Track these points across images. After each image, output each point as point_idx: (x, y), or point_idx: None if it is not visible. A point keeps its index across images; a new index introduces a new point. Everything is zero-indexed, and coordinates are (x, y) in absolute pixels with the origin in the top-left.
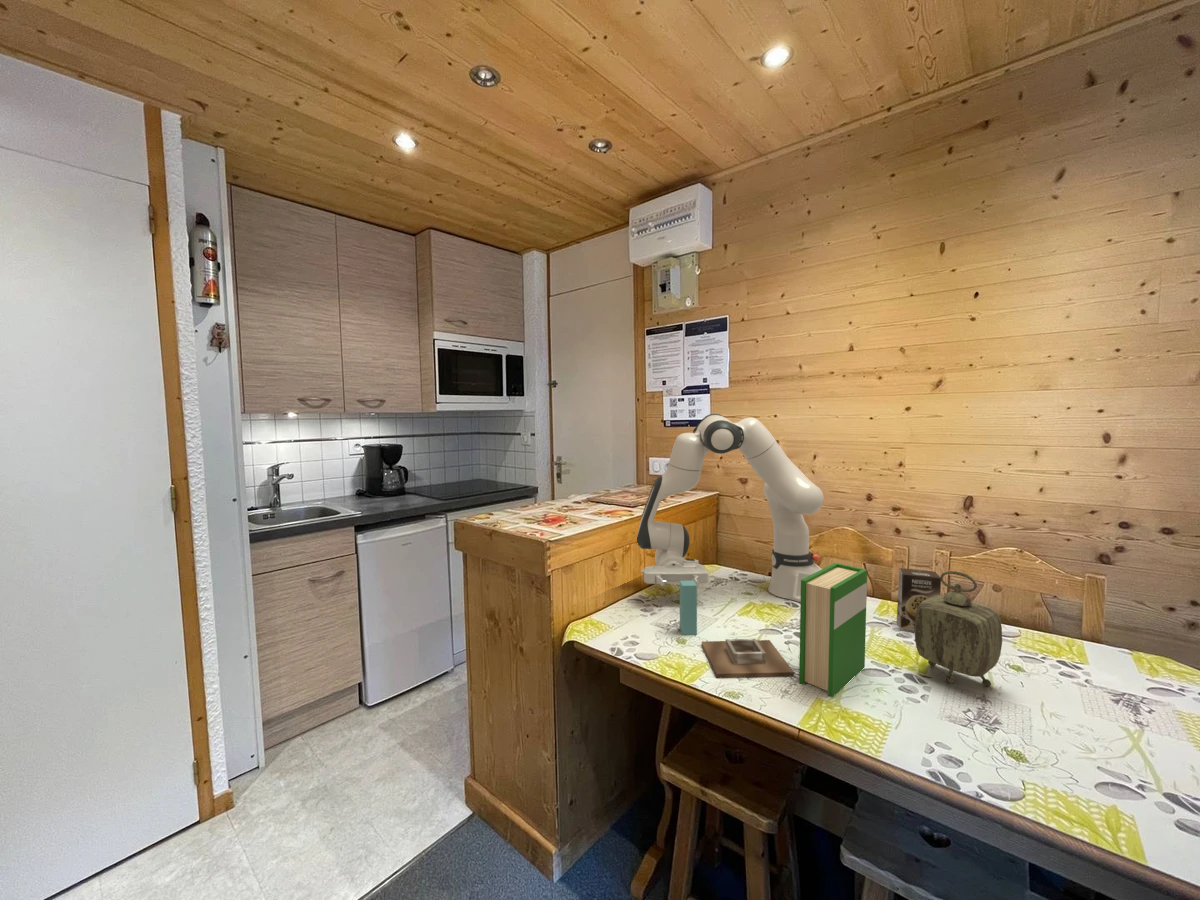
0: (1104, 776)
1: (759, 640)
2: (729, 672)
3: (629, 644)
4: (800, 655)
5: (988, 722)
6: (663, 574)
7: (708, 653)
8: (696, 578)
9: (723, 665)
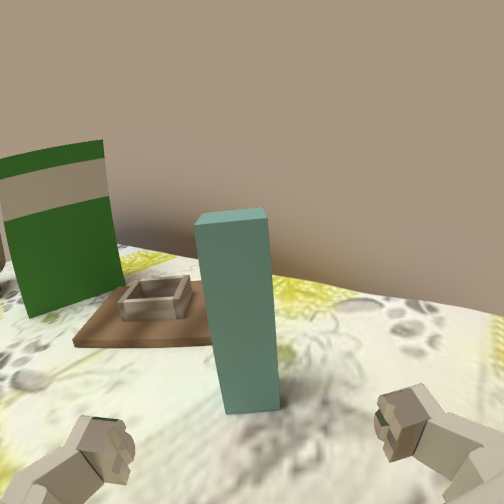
0: None
1: (91, 339)
2: None
3: (409, 325)
4: (116, 247)
5: None
6: (457, 498)
7: None
8: (57, 449)
9: None
